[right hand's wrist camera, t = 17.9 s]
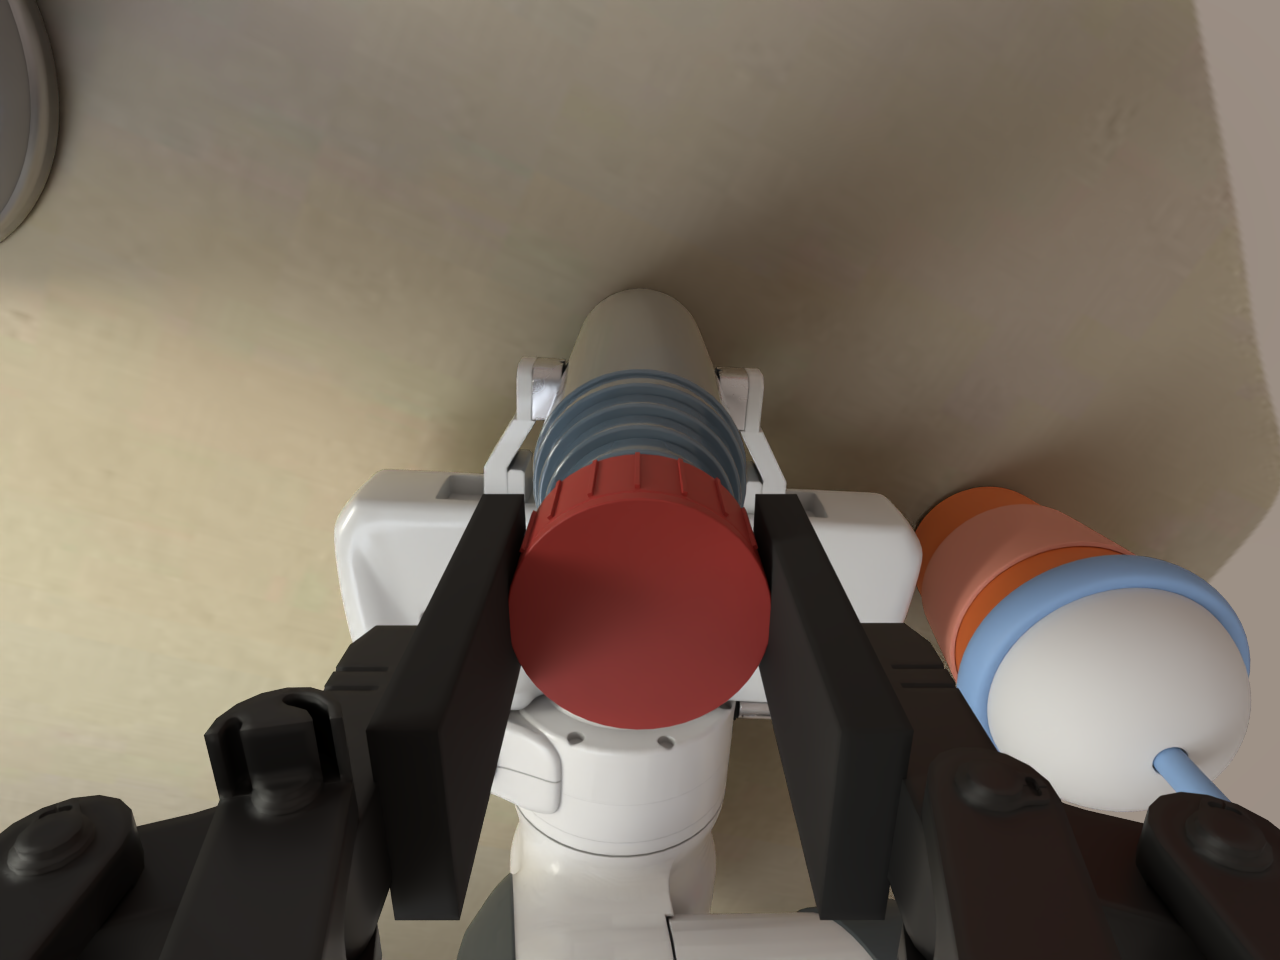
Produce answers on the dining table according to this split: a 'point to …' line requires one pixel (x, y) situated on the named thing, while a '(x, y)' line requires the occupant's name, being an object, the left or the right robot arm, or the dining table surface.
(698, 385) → the bottle
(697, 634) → the cap
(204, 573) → the dining table surface
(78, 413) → the dining table surface
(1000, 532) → the cup with straw
